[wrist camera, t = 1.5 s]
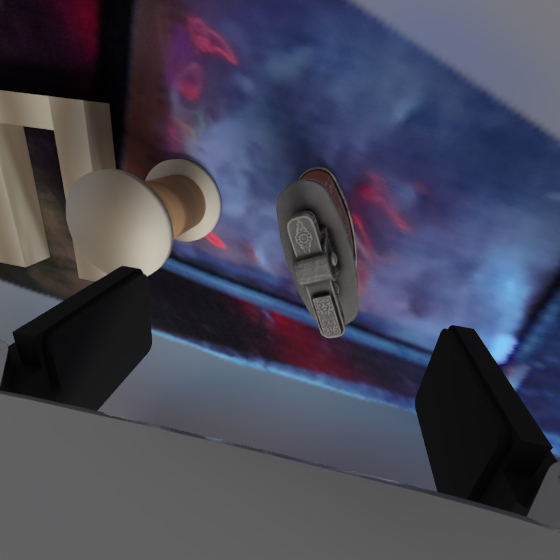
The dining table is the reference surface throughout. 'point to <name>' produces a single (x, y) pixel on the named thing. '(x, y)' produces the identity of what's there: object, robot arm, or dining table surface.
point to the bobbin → (141, 213)
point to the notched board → (73, 163)
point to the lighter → (320, 248)
